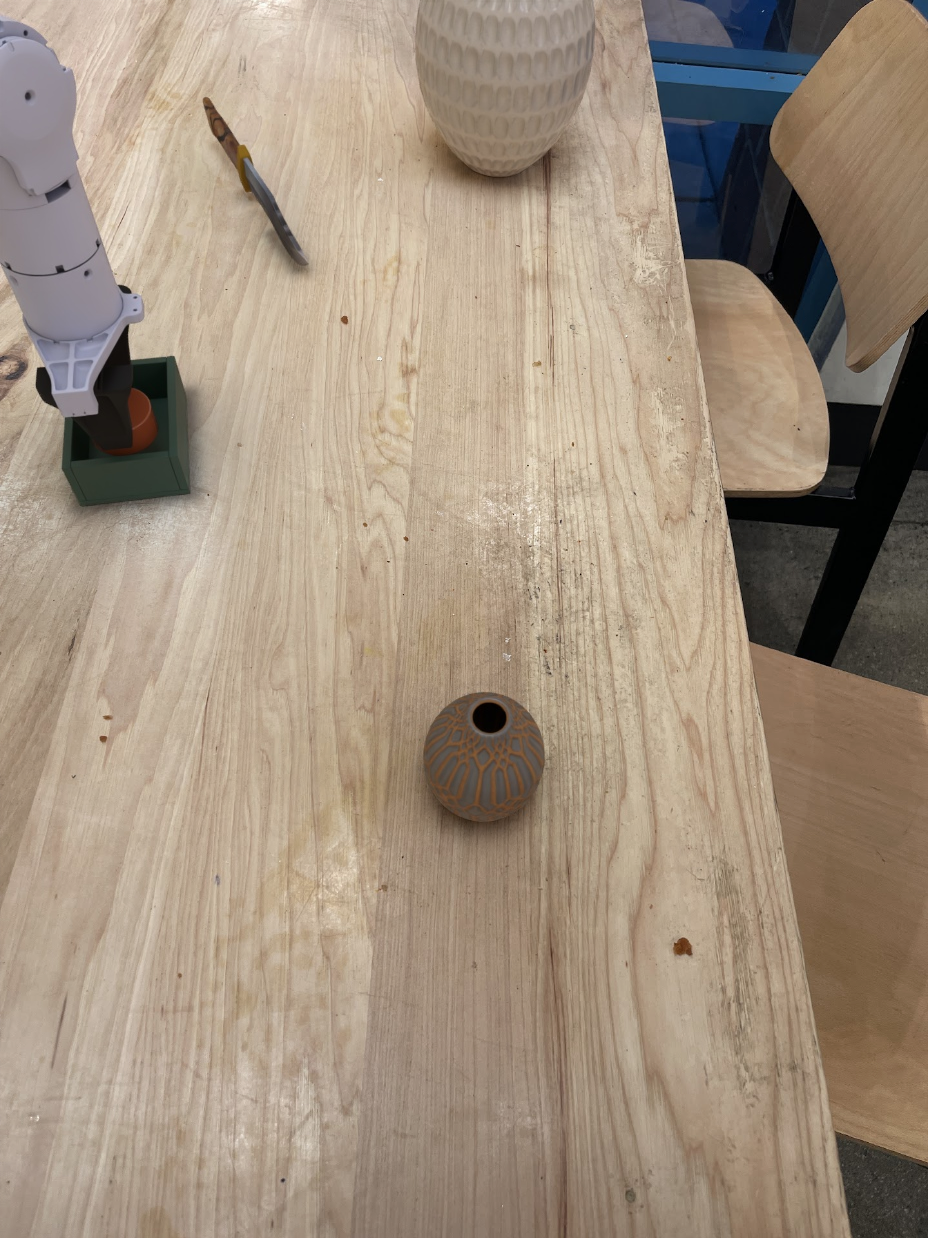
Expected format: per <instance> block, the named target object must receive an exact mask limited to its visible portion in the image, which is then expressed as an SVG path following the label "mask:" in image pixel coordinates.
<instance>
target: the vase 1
mask: <svg viewBox="0 0 928 1238" xmlns="http://www.w3.org/2000/svg"><path fill="white" fill-rule="evenodd" d="M595 14H596V13H595V4H594V0H419V3H418V8H417V14H416V22H415V23H416V24H415V35H414V50H415V51H414V52H415V53H414V55H415V59H414V60H415V66H416V71H417V79H418V85H419V90H420V93H421V96H422V99H423V102H424V106H425V108H426V111H427V114H428V115H429V117H430V119H431V122H432V123H433V125H434V127H435V128H436V130H437V132H438V134H439V135H440V137H441V138H442V140H443V141H444V142H445V144H446V145H447V147H448V148H449V150H450V151H451V152H452V153H453V154H454V155H455V157H457V158H458V159H459V160H460V161H461V162H462V163H463V164H465V166H467V167H468V169H470V170H472V171H473V172H475V173H478V174H480V175H484V176H487V177H493V178H494V177H495V178H505V177H510V176H514V175H517V174H520V173H522V172H523V171H525V170H527V169H528V168H530V167H531V166H532V165H533V164H535V163H536V162H538V161H539V160H541V158H543V157H544V156H545V155H546V154H547V153H548V152H549V151H550V149H551V148H552V147H553V146H554V145H555V144H556V143H557V142H558V141H559V140H560V138H561V137H562V135H563V133H565V131H566V130H567V129H568V127H569V126H570V124H571V123H572V121H573V119H574V117H575V115H576V113H577V111H578V109H579V107H580V105H581V103H582V101H583V99H584V96H585V92H586V89H587V85H588V83H589V79H590V75H591V71H592V65H593V59H594V54H595V47H596V45H595V42H596V15H595Z"/></svg>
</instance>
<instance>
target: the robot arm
mask: <svg viewBox="0 0 928 1238" xmlns="http://www.w3.org/2000/svg"><path fill="white" fill-rule="evenodd" d="M47 44H48V40H47V39H46V38H45V37H44V36H43V35H42V34H41V33H40V32H39V31H38V30H36V29H35V28H33V27H31V26H29V25H28V24H25V23H24V22H21V21H19V20H16V19H13V18H11V17H9V16H6V15H4V14H1V13H0V267H1V269H2V271H3V274H4V275H5V278H6V280H7V283H8V284H9V286H10V288H11V291H12V293H13V295H14V297H15V300H16V302H17V305H18V306H19V308H20V311H21V313H22V322H23V325H24V329H25V330H26V332H27V335H28V336H29V338H30V340H31V342H32V345H33V346H34V348H35V350H36V352H37V354H38V356H39V359H40V360H41V362H42V364H43V366H38V367H36V372H35V389H36V391H37V394H38V395H39V397H40V399H41V400H42V402H43V403H44V404H47V405H49V406H51V407H53V408H55V409H57V410H59V412H60V415H61V416H62V418H65V417H71V418H72V419H73V420H75V421H76V422H77V423H78V424H79V425H80V426H81V427H82V428H83V429H84V431H85V432H86V433H87V434H88V435H89V436H90V437H91V439H92V440H93V441H94V442H95V443H96V444H97V445H98V446H99V447H100V448H101V449H102V450H103V451H106V450H115V449H124V448H131V447H132V446H133V429H132V422H131V417H130V412H129V406H128V399H129V396H130V393H131V388H133V365H132V364H131V360H132V358H131V349H130V342H129V341H130V340H129V339H130V338H129V333H130V325H131V324H139V323H141V322H143V321H144V320H145V316H146V315H145V303H144V300H143V297H142V295H141V294H139V293H133V292H132V289H130V287H128V286H127V285H124V284H118V282H117V281H116V278H115V275H114V272H113V269H112V266H111V263H110V260H109V257H108V255H107V251H106V248H105V245H104V242H103V239H102V237H101V234H100V230H99V227H98V224H97V222H96V218H95V215H94V212H93V210H92V206H91V203H90V200H89V198H88V194H87V192H86V189H85V186H84V183H83V180H82V177H81V174H80V171H79V168H78V165H77V161H78V160H80V156H79V152H78V150H77V146H76V144H75V140H74V134H73V133H74V132H73V130H74V129H73V128H74V121H75V116H76V112H77V111H76V110H77V103H78V102H77V99H78V97H77V94H78V93H77V84H76V78H75V74H74V70H73V69H72V68H71V67H67V68H66V66H65V65H64V64H61V63H60V61H59V58H58V56H57V54H56V52H55V50H54V48H52V47H50V46H47Z"/></svg>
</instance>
